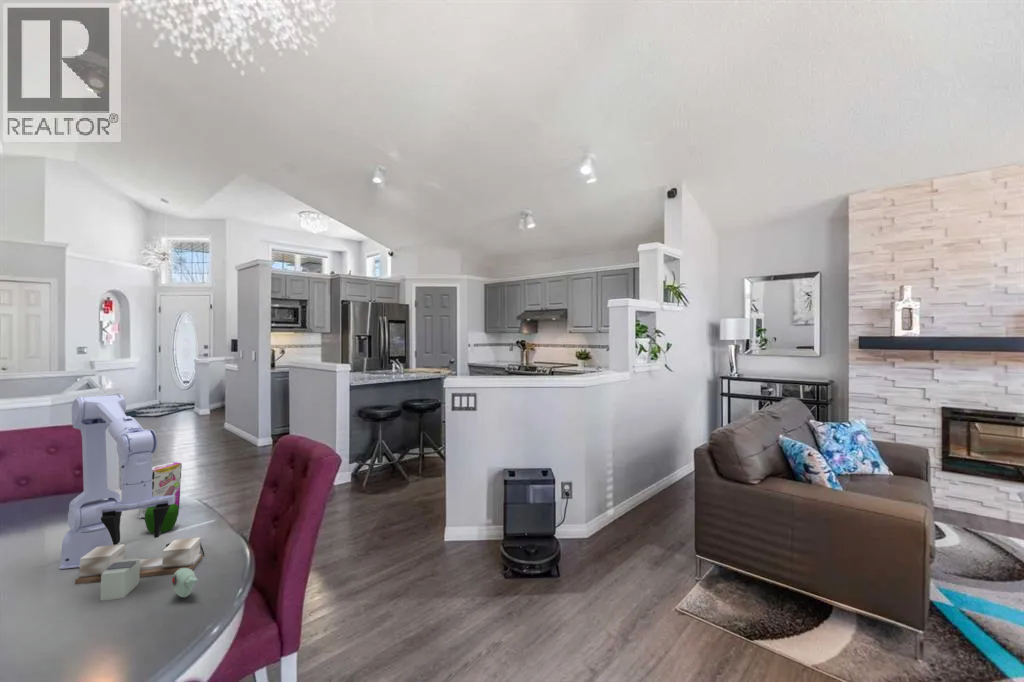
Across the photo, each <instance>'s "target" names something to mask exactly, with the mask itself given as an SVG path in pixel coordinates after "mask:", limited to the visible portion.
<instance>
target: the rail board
mask: <svg viewBox="0 0 1024 682" xmlns="http://www.w3.org/2000/svg"><path fill="white" fill-rule="evenodd" d="M170 543H171V544H170V545H169V546H167V547H166V546H165V548H164V549H163V550H162V557H154V558H153V557H152V558H142V559H141V558H140V578H144V577H153V576H154V577H155V576H164V575H174V574H175V572H176V571H177V570H179V569H181V568H188V569H191V570H192V571H193V570H194V569H195V568H194V567H197V566H198V564H199V563H200V562H201V560H202V559H203V558H204V557H203V554H199V553H200V543H201V537H189V538H181V539H179V538H178V539H174V540H172V542H170ZM125 557H126V543H125V544H123V543H121V544H117V545H113V544H112V545H110V546H99V547H96V548H95V549H93V550H92V551H90V552H89V553H88V554H86V555H85V556H83V557H82V558H80V567H79V577H78V578H76V579H75V582H74V584H75V585H80V584H81V583H82V584H90V583H101V574H102V573H103V572H105V571H106V569H107V568H108V567H109V566H110V565H112V564H113V563H116V562H117V561H118V560H126V558H125ZM202 557H203V558H202ZM201 558H202V559H201ZM199 561H200V562H199ZM198 562H199V563H198ZM82 584H81V585H82Z"/></svg>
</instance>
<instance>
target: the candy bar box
mask: <svg viewBox="0 0 1024 682" xmlns="http://www.w3.org/2000/svg"><path fill="white" fill-rule="evenodd" d="M182 467H183V465H182V463H181V462H166V463H163V464H158V465H154V466H152V497H156V496H168V495H175V504H176V505H178V507H179V508H180V504H181V503H180V501H181V499H180V498H181V482H182ZM142 506H143V505H142ZM147 508H148V507H147ZM147 508H140V509H139V513H138V514H139V516H138V518H139V519H141V518H145V512H146V509H147ZM140 517H141V518H140Z"/></svg>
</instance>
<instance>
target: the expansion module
mask: <svg viewBox="0 0 1024 682" xmlns="http://www.w3.org/2000/svg"><path fill="white" fill-rule="evenodd" d="M140 560H141V558H140V557H139V558H128V559H127V558H126V559H125V560H118V561H117V562H116V563H113V564H112V565H110V566H109V567H108V568H107V569H106V571H105V572H103V573H102V574H101V582H100V596H99V597H100V598H99V600H100V601H109V600H111V601H112V600H119V599H125V597H126V596H128V594H130V592H132V591H133V590H134V589H135V587H137V586H138V585H139V584H140V578H141V577H140Z"/></svg>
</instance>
